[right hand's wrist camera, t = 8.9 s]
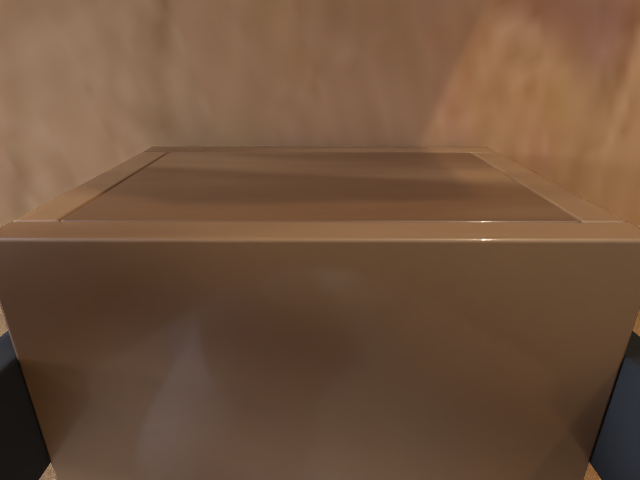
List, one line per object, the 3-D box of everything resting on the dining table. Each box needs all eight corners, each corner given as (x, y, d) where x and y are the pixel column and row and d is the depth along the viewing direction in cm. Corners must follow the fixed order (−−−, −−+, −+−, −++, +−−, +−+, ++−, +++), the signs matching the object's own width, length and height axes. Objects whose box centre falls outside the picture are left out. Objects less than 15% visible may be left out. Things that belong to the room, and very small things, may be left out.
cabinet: (427, 555, 23) (479, 797, 15) (211, 555, 23) (158, 798, 15) (488, 147, 15) (664, 239, 7) (151, 146, 15) (-25, 238, 7)
